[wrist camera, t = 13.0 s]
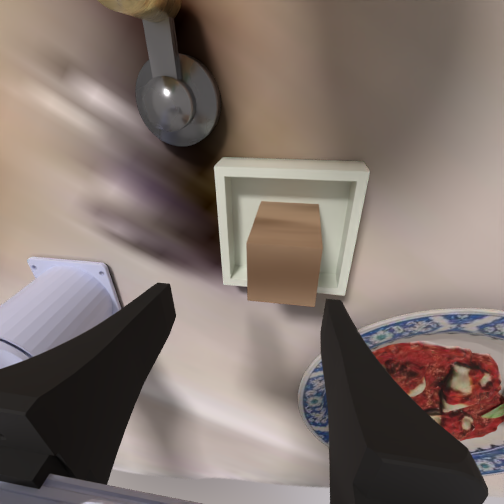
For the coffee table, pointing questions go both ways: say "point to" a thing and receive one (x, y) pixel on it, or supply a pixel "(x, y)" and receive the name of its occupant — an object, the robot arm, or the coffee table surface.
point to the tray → (293, 191)
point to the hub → (205, 100)
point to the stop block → (284, 254)
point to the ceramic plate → (435, 376)
